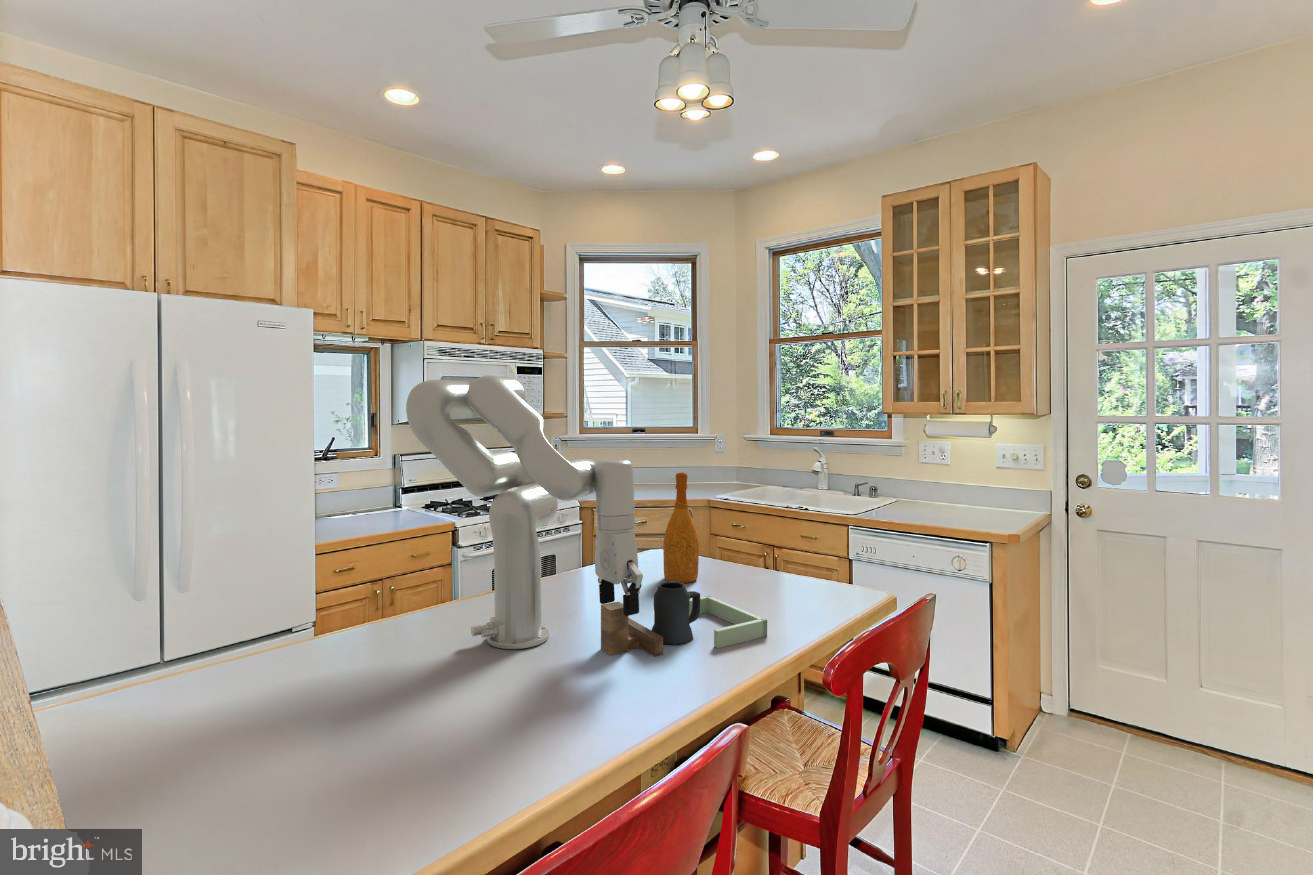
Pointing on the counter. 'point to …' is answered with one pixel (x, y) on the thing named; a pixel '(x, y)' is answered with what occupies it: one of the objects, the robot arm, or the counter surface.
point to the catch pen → (744, 622)
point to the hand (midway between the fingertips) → (619, 608)
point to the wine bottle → (681, 539)
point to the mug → (675, 612)
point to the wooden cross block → (626, 632)
